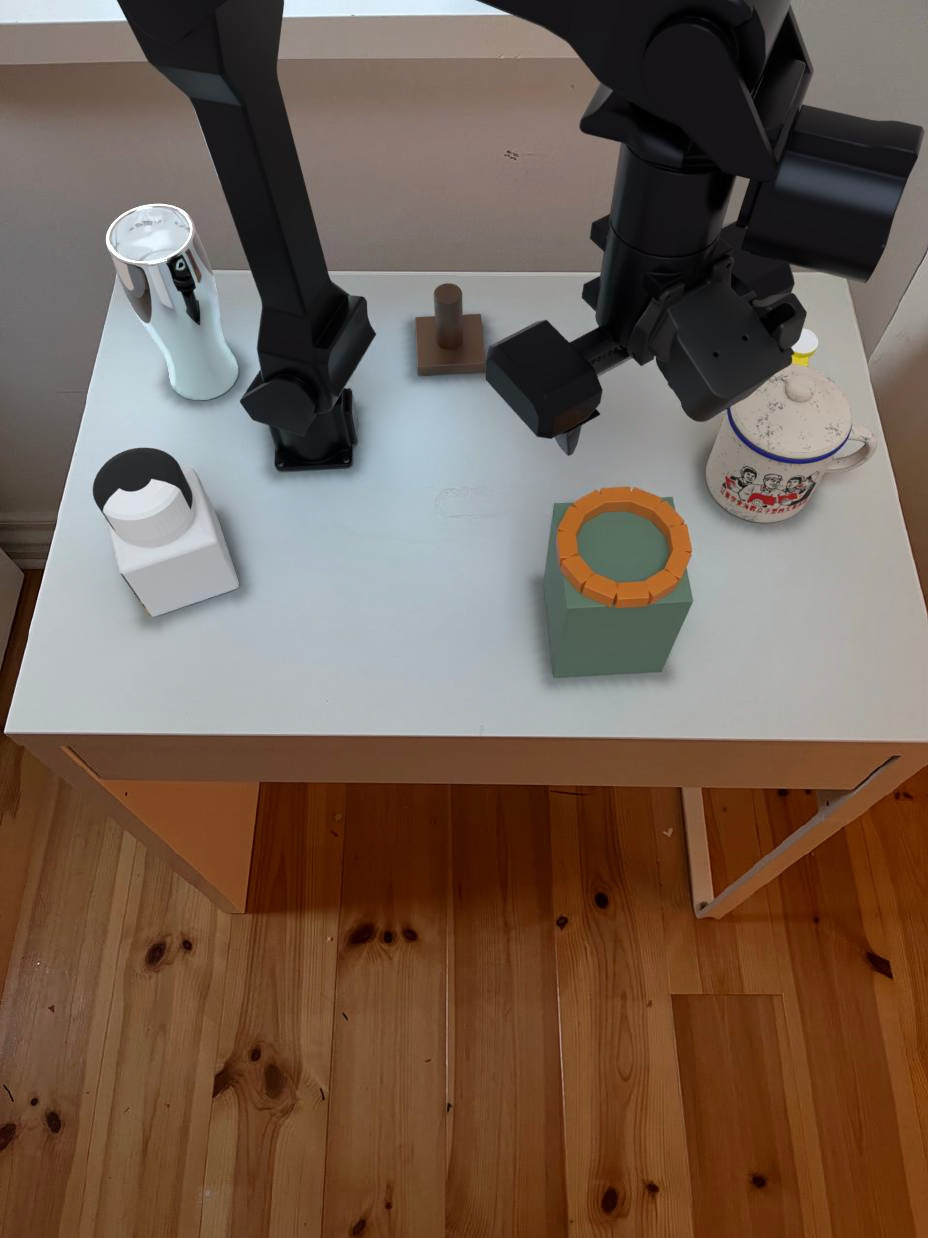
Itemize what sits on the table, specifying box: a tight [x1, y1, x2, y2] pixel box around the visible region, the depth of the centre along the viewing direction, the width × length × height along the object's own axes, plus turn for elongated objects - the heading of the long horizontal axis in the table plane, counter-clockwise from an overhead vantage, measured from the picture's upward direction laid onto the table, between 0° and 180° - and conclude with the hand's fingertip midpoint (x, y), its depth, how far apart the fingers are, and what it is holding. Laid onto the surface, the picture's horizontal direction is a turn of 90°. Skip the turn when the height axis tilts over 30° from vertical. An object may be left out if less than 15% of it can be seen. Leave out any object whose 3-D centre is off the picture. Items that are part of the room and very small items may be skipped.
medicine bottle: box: [92, 447, 240, 618], centre depth 65 cm, size 7×7×12 cm
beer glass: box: [105, 203, 239, 401], centre depth 73 cm, size 7×7×15 cm
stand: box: [414, 282, 486, 377], centre depth 78 cm, size 6×6×6 cm
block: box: [542, 496, 694, 679], centre depth 63 cm, size 8×8×11 cm
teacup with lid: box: [705, 364, 878, 524], centre depth 68 cm, size 12×9×12 cm
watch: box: [791, 327, 819, 367], centre depth 76 cm, size 6×3×6 cm, turn 175°
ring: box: [556, 486, 693, 608], centre depth 57 cm, size 8×8×1 cm
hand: (621, 419), depth 60 cm, fingers open, 9 cm apart
